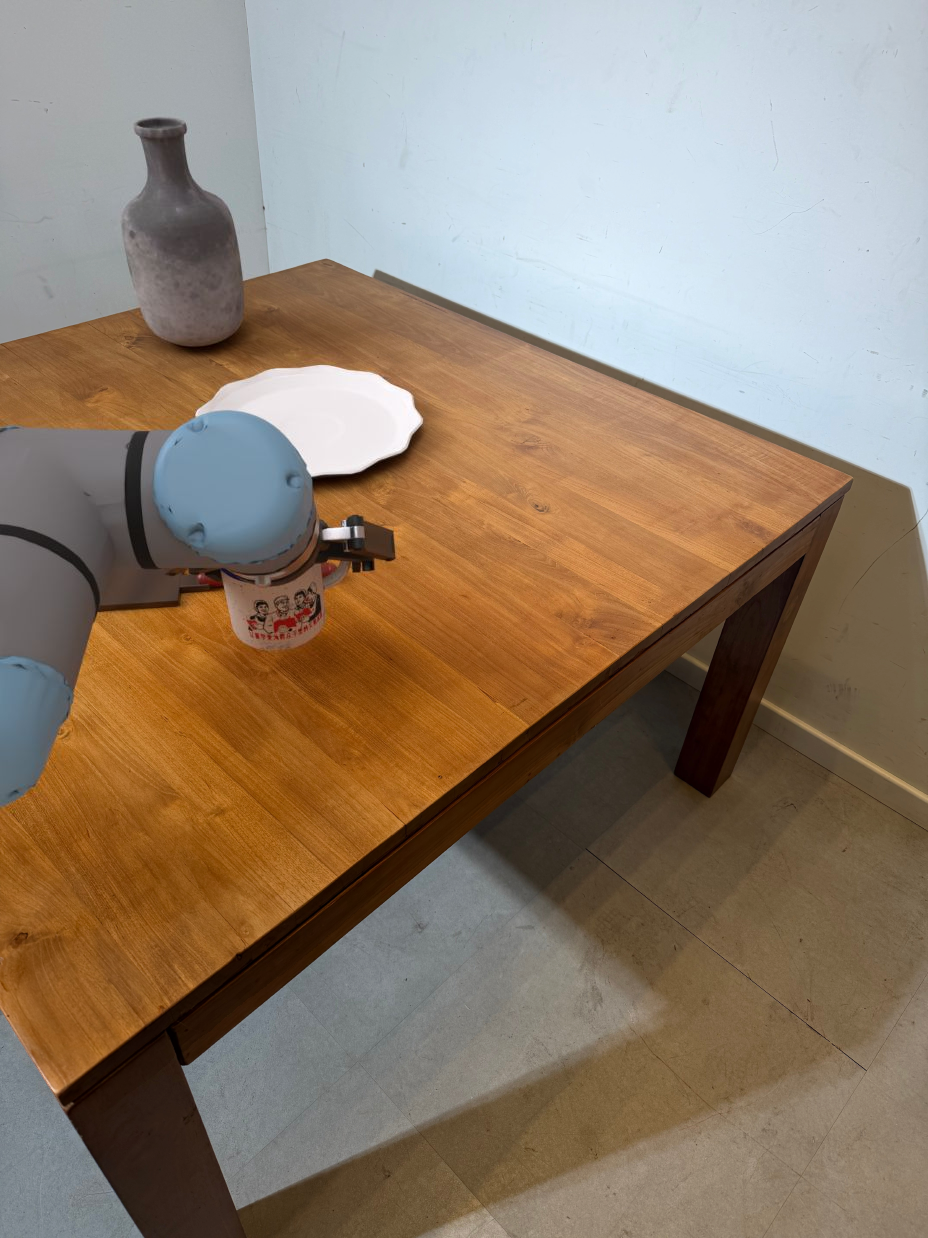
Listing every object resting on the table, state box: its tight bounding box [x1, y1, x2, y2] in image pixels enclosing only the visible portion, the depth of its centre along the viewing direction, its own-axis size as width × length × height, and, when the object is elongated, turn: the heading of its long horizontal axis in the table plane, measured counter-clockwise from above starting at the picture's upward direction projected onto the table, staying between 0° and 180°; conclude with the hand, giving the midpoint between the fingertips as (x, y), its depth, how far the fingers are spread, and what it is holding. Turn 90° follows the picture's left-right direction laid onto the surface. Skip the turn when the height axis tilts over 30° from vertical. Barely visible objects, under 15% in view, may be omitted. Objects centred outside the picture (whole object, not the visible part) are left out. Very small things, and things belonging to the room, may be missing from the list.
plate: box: [195, 364, 424, 480], centre depth 111 cm, size 29×29×2 cm
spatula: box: [98, 562, 338, 612], centre depth 88 cm, size 24×6×2 cm, turn 99°
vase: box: [120, 116, 245, 348], centre depth 121 cm, size 16×16×30 cm
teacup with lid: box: [220, 561, 352, 652], centre depth 75 cm, size 12×9×12 cm
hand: (288, 562), depth 77 cm, fingers closed on teacup with lid, 12 cm apart
